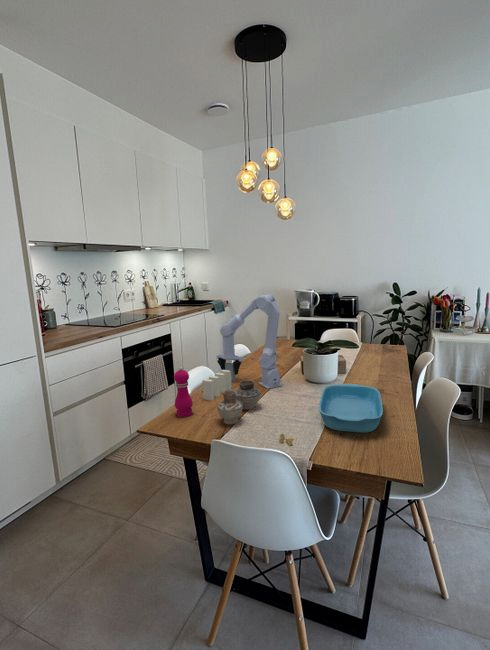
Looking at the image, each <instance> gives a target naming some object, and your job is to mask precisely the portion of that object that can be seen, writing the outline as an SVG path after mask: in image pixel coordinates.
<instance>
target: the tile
mask: <svg viewBox="0 0 490 650" xmlns="http://www.w3.org/2000/svg"><path fill="white" fill-rule="evenodd" d="M214 376H216V377H219V378H220V394H223V393H222V392H223V391H225V390H227V389H226V378H225V374H223V373H221V372H215V373H214Z"/></svg>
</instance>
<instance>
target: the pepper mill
mask: <svg viewBox="0 0 490 650" xmlns="http://www.w3.org/2000/svg"><path fill="white" fill-rule="evenodd" d="M189 379H190V374H189V372H188V371H187V370H184V367H182V366H180V367H178V370H177V371H175V373H174V375H173V380H174V382H175V387H176V389H177V390H176V392H177V393H176V396H175V399H174V408H175V409H176V416H177V417H178V416H179V418H186V417H190V416H192V414H193V409H192V407H193V404H194V403H193V398H192V397H191V395H190V393H189V388H188V386H189Z"/></svg>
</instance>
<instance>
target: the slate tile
mask: <svg viewBox="0 0 490 650" xmlns="http://www.w3.org/2000/svg"><path fill="white" fill-rule="evenodd" d="M225 370H228V371H231V382H235V381H236V375H235V372H234V365H233V362H226V363H225Z"/></svg>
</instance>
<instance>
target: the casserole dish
mask: <svg viewBox="0 0 490 650" xmlns="http://www.w3.org/2000/svg"><path fill="white" fill-rule="evenodd" d="M318 411H319V413H320V416H321V420H322V421H323V424H324V425H325V426H326V427H327V428H329V429H331V430H334V431H339V432H351V433H359V434H360V433H363V434H365V433H371V432H373V431H374V430H376V429H377V428H378V426H379V424H380V421H381V418H382V416H383V414H384V409H383V401H382V396H381V393H380V391H379V389H377V388H375V387H373V386H368V385H362V384H356V383H341V384H328V385H327V386H325V387H324V388H323V389H322V391H321V395H320V399H319V403H318Z"/></svg>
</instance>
